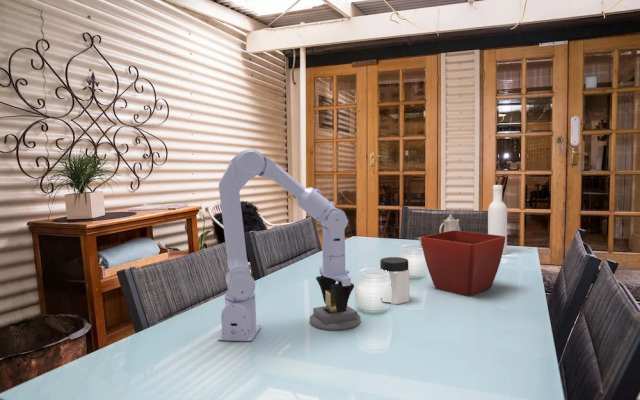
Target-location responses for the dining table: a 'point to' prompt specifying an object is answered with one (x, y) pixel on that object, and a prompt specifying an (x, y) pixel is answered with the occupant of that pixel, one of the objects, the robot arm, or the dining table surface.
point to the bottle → (498, 216)
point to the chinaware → (448, 225)
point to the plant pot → (463, 260)
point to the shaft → (330, 302)
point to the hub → (334, 319)
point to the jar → (397, 278)
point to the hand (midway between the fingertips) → (334, 307)
